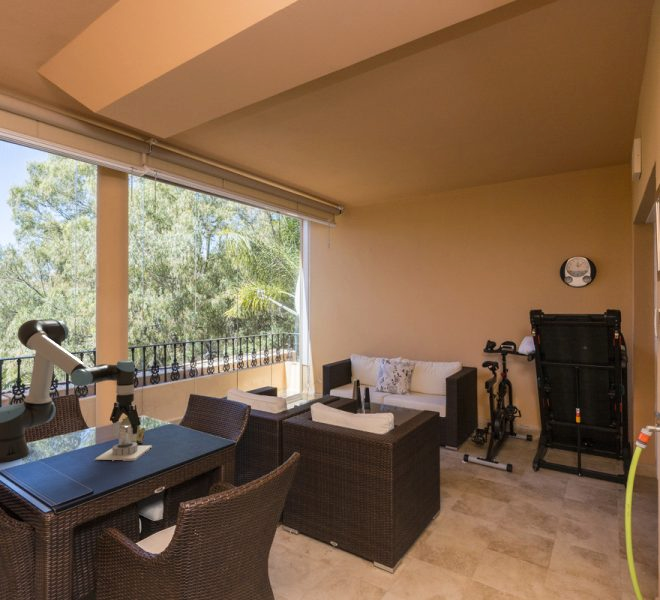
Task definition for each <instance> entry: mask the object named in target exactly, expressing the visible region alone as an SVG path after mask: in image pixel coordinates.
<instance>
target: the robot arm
mask: <svg viewBox="0 0 660 600" xmlns="http://www.w3.org/2000/svg"><path fill="white" fill-rule="evenodd" d="M68 337H69V328H68V325H67V324H66V323H65V322H64V321H63V320H61V319H53V318H50V319H48V318H47V319H45V318H44V319H31V320H26V321H25V322H23V323H22V324H21V325H20V326H19V328H18V330H17V339H18V340H19V342H20V344H22V345H23V346H24V347H25V348H26V349H28V350H29V351H30V350H31V351H35V353H34V360H33V366H32V372H31V378H30V385H29V390H28V394H27V395H28V396H26V397H25V398H23V403H12V404H8V405H4V406H1V407H0V463H4V462H5V463H6V462H11V461H15V460H19V459H22V458H25V457H26V456H29V453H30V449H29V447H28V444H27V441H26V438H25V431H27V430H29V429H32V428H36V427H38V426H39V427H40V426H43V425H45V424H47V423H49V422H51V421H52V419H54V417H55V415H56V411H57V410H56V409H57V408H56V406H55V404H56V403H54V401H53V398H51V396H50V393H51V387H52V386H51V385H52V381H53V375H54V367H57V368H58V369H60V370H62V371H63V372H64V373H66V374H67V375H69V376H70V381H71V383H72V385H74V386H76V387H84V386H89V385H93V384H97V383H98V384H99V383H103V382H106V381H115V382H116V391H115V392H116V399H115V400H116V401H115V402H113V408H112V410H111V411H112V412H111V414H110V416H109V417H110V418H109V421H111V422H112V423H111V424H112V437H113V438H115V437H119V427H120V418H121V416H122V415H123V414H124V415H125V416H126V417H128V419H129V421H130V424H131V427H130V441H135V440H137V426H139V425H140V426H141V421H140V420H139V417H140V416H139V414H138V409H137V404H133V402H134V401H135V394H134V392H135V370H136V369H135V362H134V361H133V360H119V361H117V362H116V364H107V363H106V364H105V363H103V364H100V363H99V364H97V365H95V366H92V367H91V366H89V365H87V364H86V363H84V362H83V361H81V360H80V359H79V358H77V357H76V356H74V355H73V354H72V353H70V352H69V351H68V350H66V349H64V348H63V347H62V343H63V342H65V341H66V340H67V338H68Z"/></svg>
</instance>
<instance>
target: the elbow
mask: <svg viewBox="0 0 660 600" xmlns="http://www.w3.org/2000/svg"><path fill="white" fill-rule="evenodd" d="M130 427H131V425H122V426H121V425H119V436H118V444H119V448H124V447H129V446H131V441H130Z"/></svg>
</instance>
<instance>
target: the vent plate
mask: <svg viewBox="0 0 660 600" xmlns="http://www.w3.org/2000/svg"><path fill="white" fill-rule="evenodd" d="M150 448H151V449H152V448H153V445H138V442H131V446H129V447H124V448H119V443H117V444H114V445H113V446H112V448H110V449H109V450H106V451H105V452H104V453H102V454H100V455H99V456H97V457H96V458H95V459H94V461H95V460H112V462H115V461H114V460H123V462H125V461H128V462H130V461H131V462H134V461H137V459H139V458H141V457H142V456H143V455H145V454H146V453H147V452H148V451H150V450H151V449H150ZM145 452H146V453H145Z"/></svg>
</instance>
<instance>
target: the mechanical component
mask: <svg viewBox="0 0 660 600" xmlns="http://www.w3.org/2000/svg"><path fill="white" fill-rule="evenodd" d="M138 417H139V420H140V422H141V420H142V417H141V416H138ZM122 425H131V424H130V421H129V419H128V417H127V416H125V417H124V418H122V421H121V424H120V426H122ZM145 432H146V428H145V427H141V424H140V425H139V426H137V440H135V441H131V442H136V443H137V444H139V443H142V442H144V441H143V439H144V436H145ZM142 444H143V443H142Z"/></svg>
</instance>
